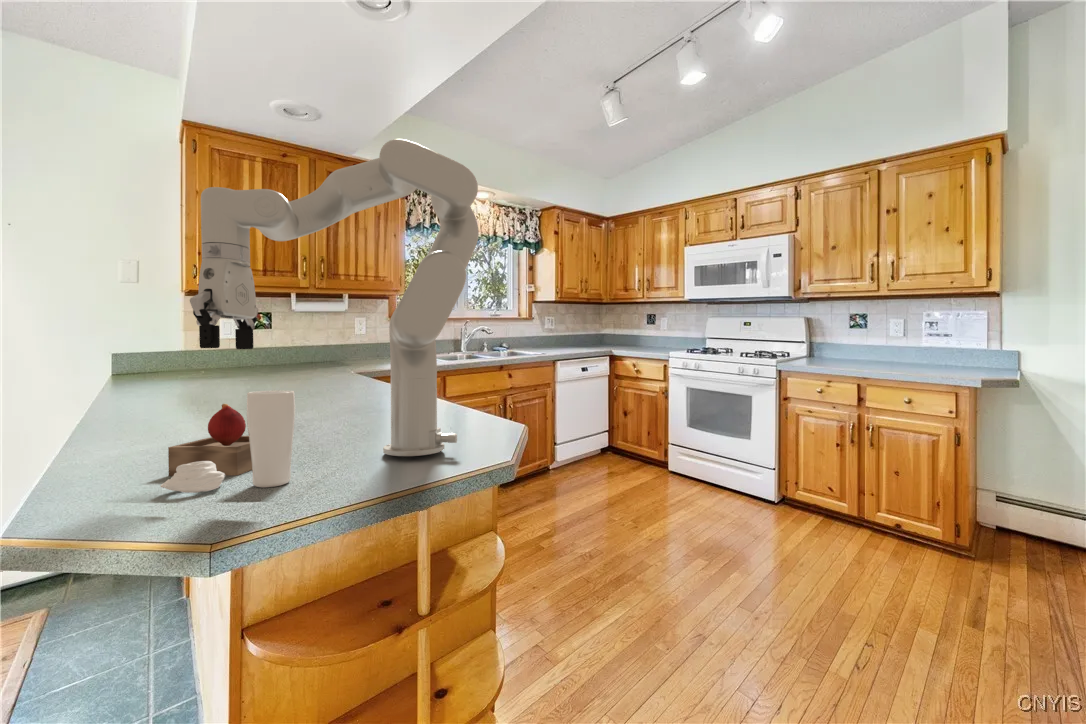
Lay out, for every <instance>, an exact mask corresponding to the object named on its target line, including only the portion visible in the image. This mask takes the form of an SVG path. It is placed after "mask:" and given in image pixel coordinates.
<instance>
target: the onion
mask: <svg viewBox="0 0 1086 724" xmlns="http://www.w3.org/2000/svg"><path fill="white" fill-rule="evenodd" d="M246 427H247V425H246V421H245V417H244V416H243V415H242V414H241V413H240V412H239V411H238V410H236V409H235V408H233V407H231V406H230V405H229V404H227V403H222V404H221V409H219V410H218V411H217V412H215V413H214V414H213V415H212V416H211V417H210V419H209V421H208V424H207V432H208V434H209V436H210V437H212V438H213V439H215V440H216V441H218V442H219V443H221V444H222V445H223V446H230V445H231V444H232V443H234V442H235V441H236V440H238V439H239V438H240V437H241V436H244V433H245V432H246V429H247V428H246Z"/></svg>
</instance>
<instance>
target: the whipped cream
mask: <svg viewBox="0 0 1086 724" xmlns="http://www.w3.org/2000/svg"><path fill="white" fill-rule="evenodd" d="M176 471H177V472H176V473H174V476H171V478H170V479H167V480H166V481H165V482H163V483H161V484H160V488H163V489H164V488H165V489H166V490H169V491H172V492H182V493H187V494H188V493H189V494H190V493H191V494H197V493H201V492H209V491H213V490H217V489H219V488H220V485H222V484H223V482H225V477H226V476H225V474H224V473H222V472H220V471H217V469H216V464H215V463H213V462H211V461H199V462H192V463H189V464H183V465H180V466H178V467H177V468H176Z"/></svg>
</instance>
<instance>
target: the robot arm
mask: <svg viewBox="0 0 1086 724" xmlns="http://www.w3.org/2000/svg"><path fill="white" fill-rule="evenodd" d="M478 186H479V185H478V182H477V178H476V176H475V175H474V173H473V172H472V171H471V170H470V169H469V168H468V167H467V166H465V165H464V164H462V163H460V162H458V161H456V160H455V159H451V158H450V157H447V156H445V155H443V154H441V153H439V152H436V151H435V150H432V149H430V148H428V147H426V146H423V145H421V144H419V143H417V142H414V141H410V140H408V139H403V138H394V139H391V140H388V141H386V142H385V143H384V144H382V147H381V148H380V152H379V156H378V157H377V158H374V159H370V160H367V161H365V162H361V163H358V164H354V165H349V166H345V167H342V168H337V169H335V170H334V171H332V172H331V173H330V174H329V175H328V176H327V177H326V178H325V179H324V181H323V182H322V184H320V186H318V188H317V189H314V191H312V192H310V193H309V194H307V195H305V196H302V197H301V198H300V197H299V198H297V199H294V200H290V201H289V200H288V198H286V197H285V196H284V195H283V194H282V193H280V192H279V191H276V190H273V189H269V188H257V189H232V188H229V187H228V188H227V187H219V186H211V187H207V188H205V189H203V190H202V191H201V194H200V224H201V225H200V227H201V229H200V231H201V232H200V233H201V264H200V270H199V279H198V294H195V295H193V296H192V297H190V298H189V304H190V306H191V309H192V314H193V316H194V317H195V319H196V324H197V326H198V327H199V329H198V331H199V334H198V335H199V336H198V337H199V338H198V339H199V340H198V341H199V348H200V349H219V348H220V346H221V345H220V343H221V340H220V338H221V337H220V333H221V332H220V325H217V324H218V322H219V320H220V319H222V318H223V319H230V320H231V319H233V321H234V323H235V325H236V327H237V328H235V331H234V332H235V349H236V350H253V349H254V329H255V328H256V325H255V324H256V323H257V320H258V319H257V316H258V314H259V308H258V307H257V298H256V287H255V280H254V275H253V270H252V268H251V246H250V245H251V241H250V240H251V239H250V237H251V235H250V231H251V230H250V229H251V228H254V229H257V230H259V232H260V233H261V234H262V235H263V236H264V237H266V238H268V239H269V240H272V241H275V242H287V241H291V240H295V239H299V238H301V237H305V236H308V235H311V234H314V233H316V232H319V231H321V230H322V231H323V230H324V229H326V228H328V227H330V226H332V225H334V224H336V223H338V222H340V221H342V220H344V219H346V218H348V217H349V216H351V215H353V214H355V213H358V212H361V211H364V210H368V209H371V208H373V207H377V206H380V205H383V204H386V203H389V202H392V201H396V200H399V199H402V198H405V197H408V196H409V195H411V194H413V193H414V192H415V191H416V190H419V191H422V192H423V193H426V194H428V195H430V200H431V201H430V202H431V206H432V209H433V211H434V213H435V215H436V216H437V218H438V220H439V224H440V227H439V231H438V233H437V235H436V236H435V239H434V241H433V243H432V244H431V245H432V246H431V247H430V249H429V251H428V252H427V255H425V256H424V257H423V258H422V259H421V261H420V263H419V264H418V266H417V268H416V270H415V273H414V275H413V276H412V278H411V280H410V282H409V284H408V285H407V287H406V290H405V291H404V293H403V295H402V297H401V299H400V301H399V303H398V305H397V306H396V308H395V310H394V311H393V312H392V315H391V317H390V320H389V329H388V330H389V333H388V334H389V335H388V336H389V351H390V352H389V353H390V356H389V357H390V443H388V444H386V445H384V446H383V448H382V450H383V454H385V455H387V456H394V457H419V456H421V457H422V456H428V455H433V454H437V453H440V451H441V452H442V450H443V449H444V450H445V443H448V444H457V443H458V434H457V433H453V432H451V433H450V432H449V433H448V432H447V433H444V432H442V431H441V430H442V429H441V427H438V390H437V389H438V388H437V387H438V383H437V381H438V380H437V379H438V367H437V366H438V363H437V361H438V359H437V344H436V339H437V338H438V337H439V335H440V333H441V332H442V330H443V329H444V327H445V325H446V323H447V321H448V319H449V317H450V316H451V314H452V311H453V310H454V307H455V306H456V304H457V302H458V300H459V298H460V296H461V294H462V291H463V289H464V287H465V285H466V281H467V270H466V269H467V267H468V265H469V263H470V260H471V258H472V255H473V253H474V251H475V249H476V247H477V244H478V240H479V235H480V234H479V224H478V221H477V218H476V215H475V213H474V211H473V209H472V207H471V206H472V205H473V203H474V202H475V201H476V200H475V199H476V198H477V195H478V192H479V191H478V190H479V187H478ZM444 450H443V451H444Z"/></svg>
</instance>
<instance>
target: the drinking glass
mask: <svg viewBox="0 0 1086 724" xmlns="http://www.w3.org/2000/svg"><path fill="white" fill-rule="evenodd" d="M246 394H247V395H246V423H247V432H248V433H247V434H248V436H249V442H250V452H251V462H252V470H251V471H252V485H253V486H255V487H256V488H275V487H280V486H283V485H286V484H288V483H289V482H291V477H292V476H291V475H292V472H291V470H292V469H291V466H292V456H293V445H294V434H295V433H294V432H295V422H296V397H295V391H294V390H258V391H249V392H247V393H246Z"/></svg>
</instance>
